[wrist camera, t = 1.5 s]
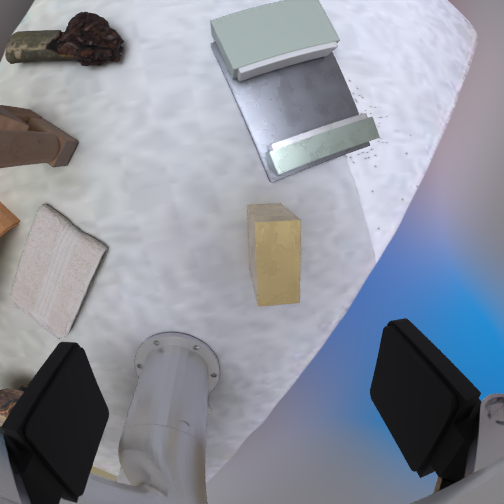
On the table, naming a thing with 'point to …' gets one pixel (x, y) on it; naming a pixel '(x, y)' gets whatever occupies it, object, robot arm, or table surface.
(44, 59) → the brown lumpy club
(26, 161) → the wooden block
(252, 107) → the vise
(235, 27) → the block
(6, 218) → the arch
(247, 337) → the table surface
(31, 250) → the washcloth
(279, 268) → the brass block
